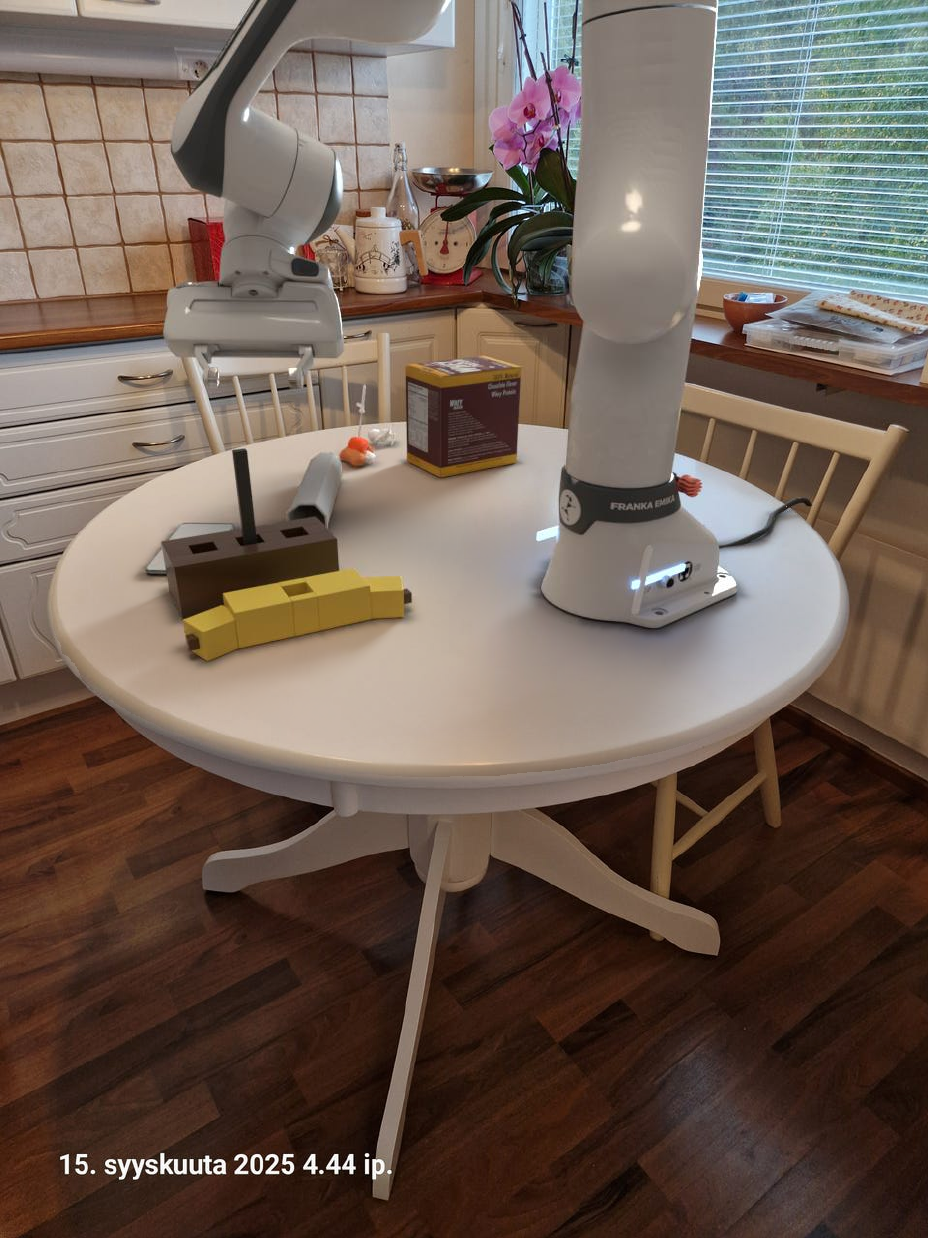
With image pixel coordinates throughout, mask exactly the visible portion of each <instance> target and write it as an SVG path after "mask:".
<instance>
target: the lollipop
mask: <svg viewBox="0 0 928 1238" xmlns="http://www.w3.org/2000/svg"><path fill="white" fill-rule="evenodd" d="M366 391H367V385H366V384H363V385H362V393H361V401H360V402H356V404H355V406H356V407H359V409H358V413H359V415H360V417H359V425H358V431H357V436H352V437H350V439H349V440H348V442H347V446H346V447H344V448H343V449H342V450H341V451H340V453H339V460H340V461H343V462H348V463H349V464H350V465H352V466H354V467H360V466H363V465H364V464H367V465H371V464H373V463H374V462H375V460H376V454H375V453H374V449H373V447H372V446H371V445H370V444H369V440H367V439H366V438H364V437H361V432H362V424H363V423H362V422H363V414H365V412H366V411H365V401H366V394H367V393H366Z"/></svg>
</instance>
